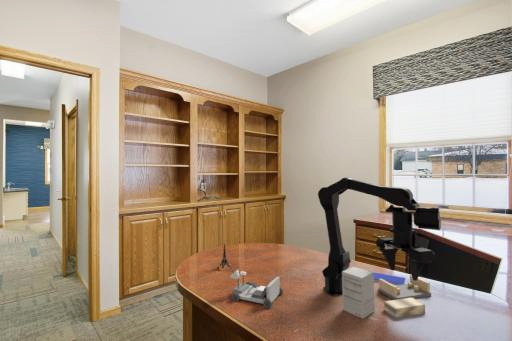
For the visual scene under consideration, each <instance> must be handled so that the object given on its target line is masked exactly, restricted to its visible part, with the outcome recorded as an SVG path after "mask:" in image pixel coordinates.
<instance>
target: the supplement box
mask: <svg viewBox="0 0 512 341" xmlns="http://www.w3.org/2000/svg"><path fill="white" fill-rule="evenodd" d="M342 291H343V294H342V310H343V311H344V312H347V313H349V314H352V315H353V316H356V317H358V318H361V319H365V318H367V317H368V316H370V315H371V314H373V313H374V312H375V311H376V310H375V309H376V308H375V305H376V304H375V281H374V273H373V271H370V270H367V269H363V268H359V267H356V266H352V267H350V268H348V269H346V270H345V271H343V272H342Z"/></svg>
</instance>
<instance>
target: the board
mask: <svg viewBox="0 0 512 341" xmlns="http://www.w3.org/2000/svg"><path fill="white" fill-rule="evenodd" d="M383 304H384V305H383V306H384V307H383V309H384V311H385V312H387V313H389V314H390V315H391V316H392V317H394V318H402V317H408V316H413V315H420V314H426V304H425V303H423V302H422V301H420V300H418V299H417V298H405V299H398V300H394V299H392V300H386V301H384V302H383Z"/></svg>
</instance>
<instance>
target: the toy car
mask: <svg viewBox="0 0 512 341" xmlns="http://www.w3.org/2000/svg"><path fill="white" fill-rule="evenodd" d="M230 271H231V272H232V274H231V275H229V278H231V279H233V280H237V285H236V286H234V287H233V288H232V292H233V293H232V294H231V299H232V301H235V300H237V301H236V302H238V301H240V300H243V301H247V302H248V301H249V302H252V303H258V304H263V306H264V308H268V309H271V308H272V306H273V302H274V300H275V299H276V298H277V297H278V296H279V295H280V296H282V295H283V293H284V290H283V287H281V285H280V283H281V282H280V281H281V280H280V279H281V278H280V276H276V277H275V278H273V280H271V281H270V282H269V283H268V284H267V285H265V286H264V285H260V286H258V284H257V283H256V282H255V281H254V282H251V281H247V282H246V283H245V280H244V276H246V275H247V272H246V271H243V270H242V271H239V269H236V270H235V271H233V269H230ZM240 275H241V276H242V283H241V282H240Z"/></svg>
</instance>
